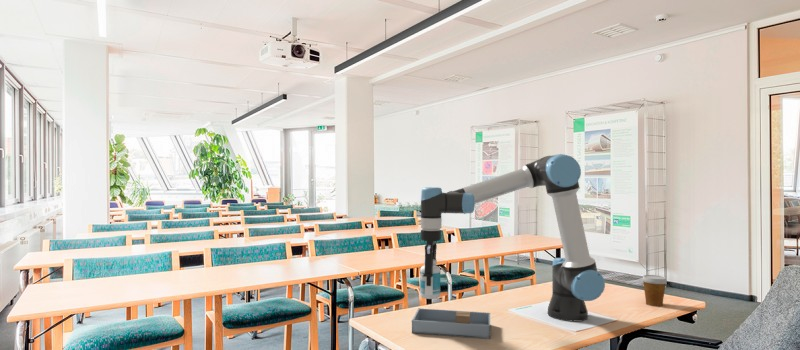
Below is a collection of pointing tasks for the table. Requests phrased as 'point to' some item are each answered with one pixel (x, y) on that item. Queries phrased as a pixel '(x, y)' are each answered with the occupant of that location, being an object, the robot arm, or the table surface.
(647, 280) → the disposable coffee cup
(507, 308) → the table surface
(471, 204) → the robot arm
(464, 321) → the walnut cube
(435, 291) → the pill bottle
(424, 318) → the tote
